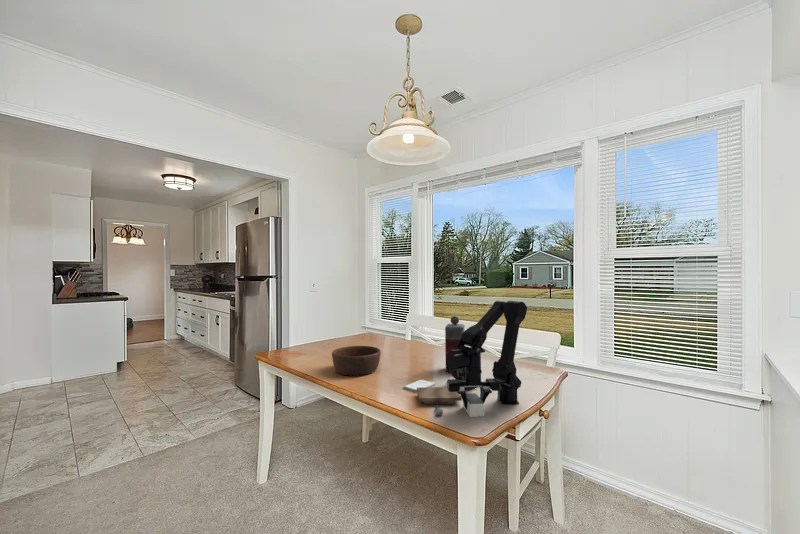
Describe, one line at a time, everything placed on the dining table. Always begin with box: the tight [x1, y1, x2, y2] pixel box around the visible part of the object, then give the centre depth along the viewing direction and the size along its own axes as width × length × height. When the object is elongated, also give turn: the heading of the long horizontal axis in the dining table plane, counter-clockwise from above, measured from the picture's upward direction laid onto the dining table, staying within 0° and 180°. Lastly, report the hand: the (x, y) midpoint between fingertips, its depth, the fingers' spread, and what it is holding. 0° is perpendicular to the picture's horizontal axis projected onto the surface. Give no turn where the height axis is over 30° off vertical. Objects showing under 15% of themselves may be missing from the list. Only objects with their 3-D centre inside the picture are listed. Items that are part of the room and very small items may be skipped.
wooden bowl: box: [331, 345, 382, 377], centre depth 179 cm, size 25×25×10 cm
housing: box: [462, 392, 485, 418], centre depth 126 cm, size 9×5×5 cm, turn 5°
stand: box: [416, 386, 463, 405], centre depth 137 cm, size 16×12×3 cm
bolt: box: [434, 404, 444, 417], centre depth 125 cm, size 6×3×3 cm, turn 2°
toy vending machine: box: [444, 315, 466, 374], centre depth 178 cm, size 9×11×28 cm
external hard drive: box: [403, 379, 436, 393], centre depth 153 cm, size 2×8×12 cm
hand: (473, 408), depth 126 cm, fingers closed on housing, 5 cm apart
